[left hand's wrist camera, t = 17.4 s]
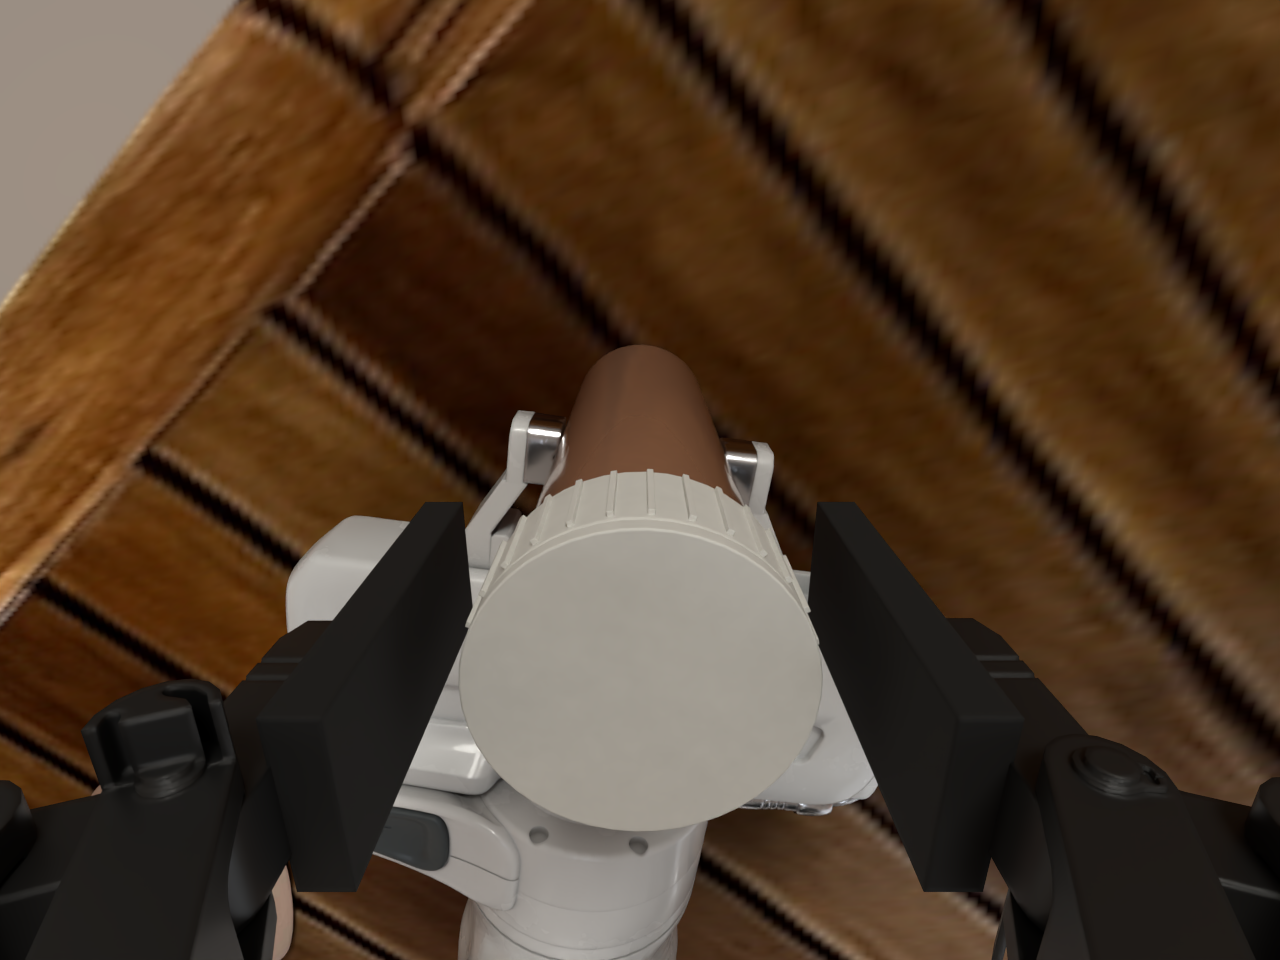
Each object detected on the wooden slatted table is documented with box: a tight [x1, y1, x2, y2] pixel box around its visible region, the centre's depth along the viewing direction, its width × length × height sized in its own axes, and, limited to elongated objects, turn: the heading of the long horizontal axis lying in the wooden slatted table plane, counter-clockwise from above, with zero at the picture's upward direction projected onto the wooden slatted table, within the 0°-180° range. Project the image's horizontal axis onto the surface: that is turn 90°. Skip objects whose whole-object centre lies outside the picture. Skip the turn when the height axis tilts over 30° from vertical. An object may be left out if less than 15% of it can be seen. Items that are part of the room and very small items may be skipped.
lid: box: [459, 469, 823, 831], centre depth 11 cm, size 6×6×2 cm
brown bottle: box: [535, 345, 744, 509], centre depth 19 cm, size 5×5×17 cm
